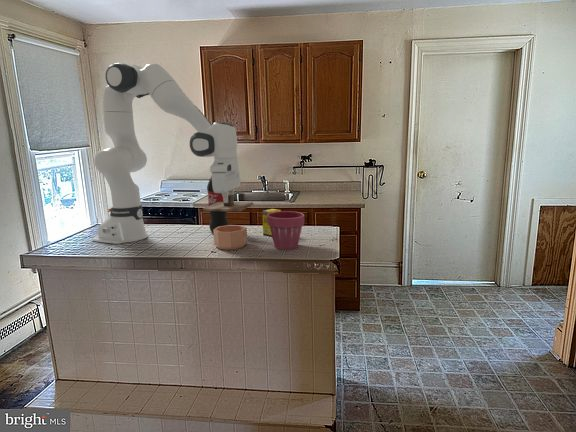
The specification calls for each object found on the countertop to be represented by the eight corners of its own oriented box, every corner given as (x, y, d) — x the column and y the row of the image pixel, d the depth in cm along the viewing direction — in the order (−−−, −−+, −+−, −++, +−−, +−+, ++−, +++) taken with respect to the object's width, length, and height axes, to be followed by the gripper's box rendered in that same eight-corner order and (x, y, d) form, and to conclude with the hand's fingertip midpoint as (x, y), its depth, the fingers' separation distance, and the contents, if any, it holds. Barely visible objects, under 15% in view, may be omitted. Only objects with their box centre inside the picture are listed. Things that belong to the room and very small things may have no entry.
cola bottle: (213, 230, 180) (209, 165, 174) (231, 230, 179) (227, 164, 173) (207, 234, 172) (202, 166, 166) (225, 234, 171) (221, 166, 165)
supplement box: (272, 237, 165) (272, 212, 163) (262, 235, 169) (261, 210, 167) (282, 234, 169) (281, 209, 167) (272, 232, 173) (271, 208, 171)
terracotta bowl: (210, 249, 149) (209, 231, 148) (222, 241, 160) (221, 224, 159) (240, 250, 146) (239, 232, 145) (250, 242, 158) (249, 225, 156)
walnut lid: (202, 210, 145) (201, 198, 144) (218, 203, 159) (217, 192, 158) (241, 211, 142) (240, 198, 141) (253, 204, 156) (252, 192, 155)
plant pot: (311, 244, 153) (310, 212, 150) (293, 253, 141) (292, 219, 139) (280, 240, 160) (279, 209, 158) (260, 248, 148) (259, 216, 146)
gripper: (228, 163, 158) (230, 197, 160) (207, 167, 138) (210, 206, 141) (243, 163, 156) (244, 197, 159) (224, 167, 137) (226, 206, 140)
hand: (228, 201), depth 150 cm, fingers closed on walnut lid, 3 cm apart
